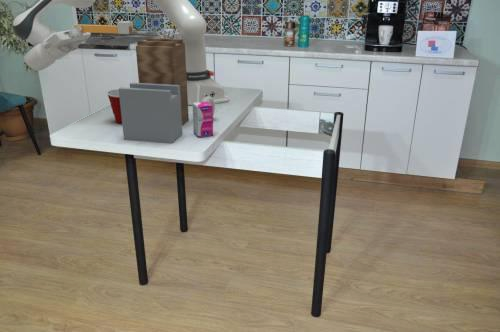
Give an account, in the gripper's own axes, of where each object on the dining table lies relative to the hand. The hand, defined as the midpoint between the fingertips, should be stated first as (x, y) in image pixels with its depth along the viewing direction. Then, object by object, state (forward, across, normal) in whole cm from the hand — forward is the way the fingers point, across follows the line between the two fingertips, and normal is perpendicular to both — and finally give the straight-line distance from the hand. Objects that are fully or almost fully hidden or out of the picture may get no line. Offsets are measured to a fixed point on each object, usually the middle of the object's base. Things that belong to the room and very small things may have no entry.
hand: (84, 27), depth 177 cm
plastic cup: (-7, -1, +37) cm, 38 cm away
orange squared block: (+6, 0, +5) cm, 8 cm away
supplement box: (+24, -9, +55) cm, 61 cm away
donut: (+21, +7, +53) cm, 57 cm away
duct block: (+10, -15, +47) cm, 50 cm away
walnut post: (+8, +1, +46) cm, 46 cm away
